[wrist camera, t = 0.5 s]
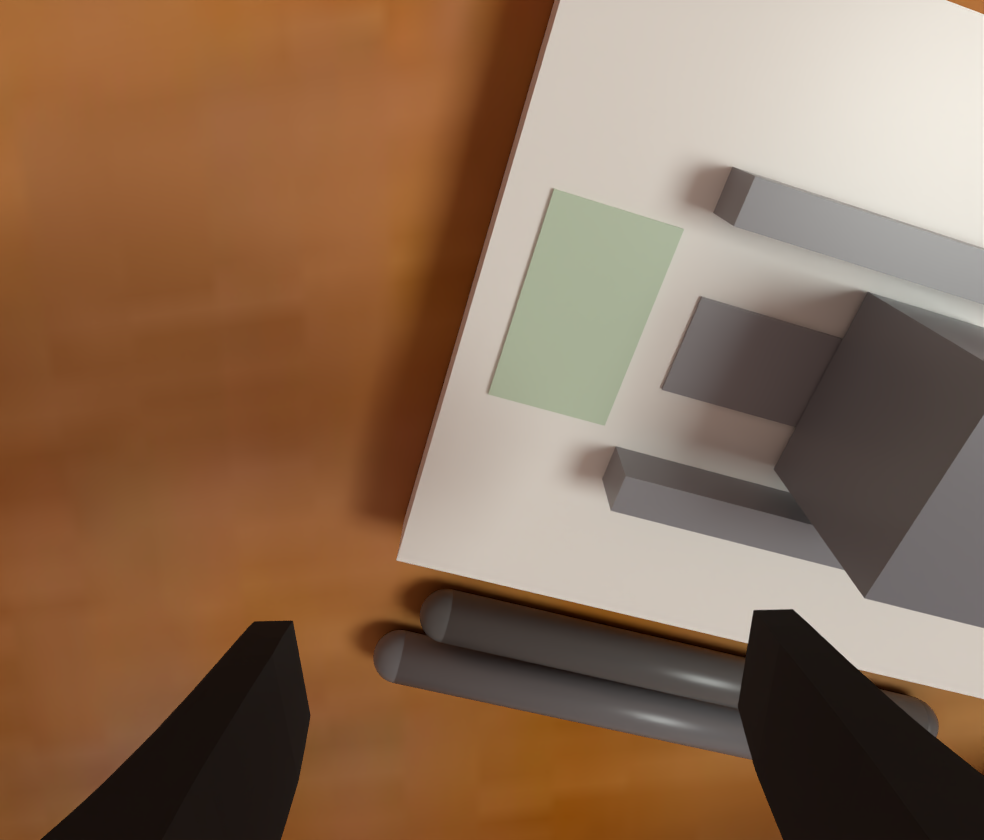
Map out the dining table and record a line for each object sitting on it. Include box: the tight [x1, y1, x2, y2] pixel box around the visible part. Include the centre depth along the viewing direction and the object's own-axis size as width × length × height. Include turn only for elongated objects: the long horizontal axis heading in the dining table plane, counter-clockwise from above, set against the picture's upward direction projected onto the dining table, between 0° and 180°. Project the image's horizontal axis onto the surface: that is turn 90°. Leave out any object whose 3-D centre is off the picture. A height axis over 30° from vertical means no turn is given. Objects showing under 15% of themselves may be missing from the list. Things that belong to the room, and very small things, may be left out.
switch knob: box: [774, 292, 984, 628], centre depth 15 cm, size 3×5×5 cm, turn 164°
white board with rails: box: [373, 0, 984, 760], centre depth 19 cm, size 20×21×4 cm
